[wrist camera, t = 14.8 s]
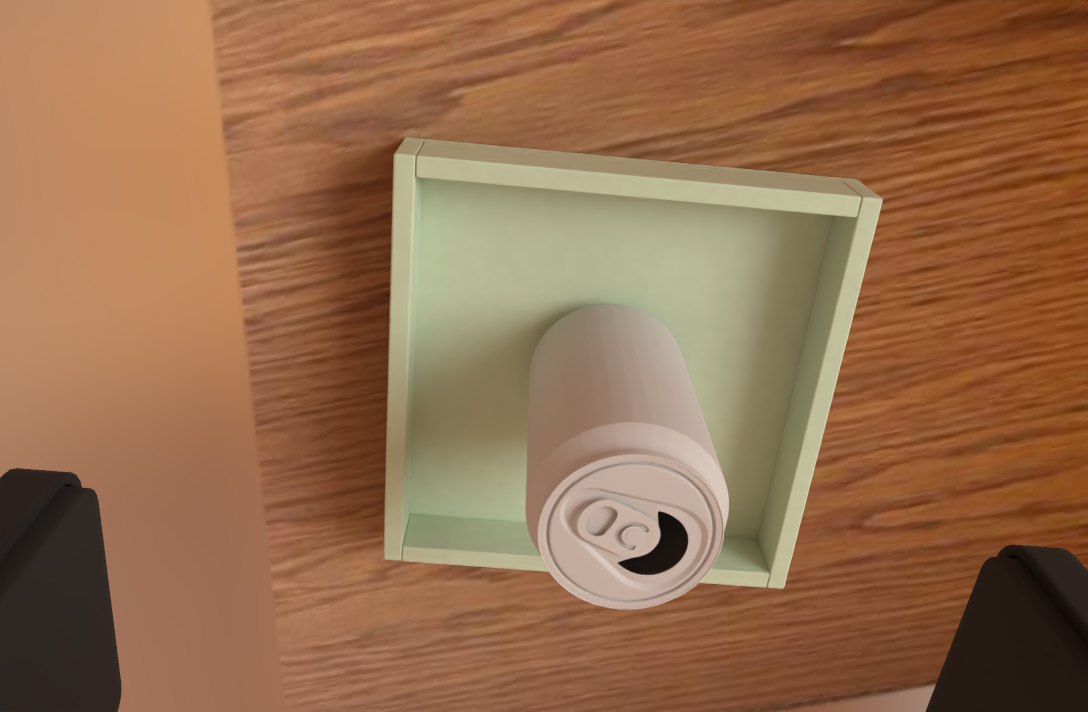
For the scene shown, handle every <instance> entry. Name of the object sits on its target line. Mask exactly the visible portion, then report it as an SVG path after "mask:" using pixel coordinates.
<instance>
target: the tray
mask: <svg viewBox="0 0 1088 712" xmlns="http://www.w3.org/2000/svg"><path fill="white" fill-rule="evenodd" d="M882 201H883V200H882V198H881V197H879V196H878V195H877V194H875V193H874V192H873V191H871V190H870V189H869V188H867V187H866V186H865V185H863V184H862V183H860V181H858V180H857V179H850V178H839V177H828V176H817V175H807V174H796V173H785V172H775V171H764V170H753V169H743V168H732V167H721V166H710V165H700V164H689V163H678V162H668V161H657V160H646V159H636V158H625V157H614V156H604V155H593V154H582V153H571V152H561V151H550V150H539V149H529V148H518V147H507V146H497V145H486V144H475V143H465V142H454V141H443V140H432V139H422V138H411V137H405V138H404V139H403V142H402V143H401V145H400V146H399V147H398V149H397V150H396V152H395V153H394V155H393V194H392V234H391V274H390V314H389V354H388V394H387V434H386V474H385V514H384V554H383V557H384V559H385V560H398V561H400V560H401V559H402V561H408V562H422V563H435V564H449V565H463V566H476V567H490V568H504V569H518V570H531V571H545V572H549V571H548V570H547V568H546V566H545V565H544V562H543V560H542V558H541V555H540V554H539V552H538V551H537V549H536V547H535V546H534V544H533V542H532V539H531V537H530V534H529V531H528V527H527V522H526V510H525V508H526V474H527V440H528V407H529V374H530V364H531V360H532V357H533V354H534V351H535V349H536V347H537V345H538V343H539V341H540V339H541V338H542V337H543V335H544V334H545V333H546V332H547V330H548V329H549V328H550V327H551V326H552V325H554V324H555V323H556V322H557V321H558V320H560V319H561V318H563V317H564V316H566V315H568V314H569V313H571V312H574V311H576V310H578V309H581V308H584V307H588V306H592V305H597V304H620V305H626V306H630V307H634V308H637V309H639V310H642V311H644V312H646V313H648V314H650V315H652V316H653V317H655V318H656V319H657V320H659V321H660V322H661V323H662V324H663V325H664V326H665V327H666V328H667V329H668V330H669V331H670V332H671V334H672V335H673V337H674V338H675V340H676V341H677V343H678V346H679V348H680V350H681V353H682V356H683V359H684V362H685V365H686V368H687V371H688V374H689V376H690V379H691V382H692V385H693V388H694V391H695V394H696V397H697V400H698V403H699V406H700V409H701V412H702V414H703V417H704V420H705V423H706V426H707V429H708V432H709V435H710V438H711V441H712V444H713V447H714V450H715V453H716V455H717V458H718V461H719V464H720V467H721V470H722V473H723V476H724V479H725V482H726V485H727V490H728V495H729V513H728V519H727V523H726V527H725V530H724V539H723V544H722V548H721V551H720V553H719V556H718V558H717V560H716V562H715V564H714V565H713V567H712V568H711V570H710V571H709V572H708V574H707V575H706V576H705V577H704V578H703V579H702V580H701V581H700V582H699V583H709V584H723V585H737V586H750V587H764V588H765V587H766V586H767V587H768V588H780V589H783V588H784V586H785V582H786V578H787V574H788V570H789V566H790V562H791V558H792V554H793V550H794V546H795V542H796V539H797V535H798V531H799V527H800V523H801V519H802V515H803V511H804V507H805V503H806V499H807V495H808V491H809V488H810V484H811V480H812V476H813V472H814V468H815V464H816V460H817V456H818V452H819V448H820V444H821V440H822V436H823V433H824V429H825V425H826V421H827V417H828V413H829V409H830V405H831V401H832V397H833V393H834V389H835V385H836V382H837V378H838V374H839V370H840V366H841V362H842V358H843V354H844V350H845V346H846V342H847V338H848V334H849V331H850V327H851V323H852V319H853V315H854V311H855V307H856V303H857V299H858V295H859V291H860V287H861V283H862V279H863V276H864V272H865V268H866V264H867V260H868V256H869V252H870V248H871V244H872V240H873V236H874V232H875V228H876V225H877V221H878V217H879V213H880V209H881V205H882Z"/></svg>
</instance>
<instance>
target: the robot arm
mask: <svg viewBox="0 0 1088 712" xmlns="http://www.w3.org/2000/svg"><path fill="white" fill-rule="evenodd" d="M120 699H121V679H120V670H119V662H118V654H117V646H116V638H115V630H114V622H113V614H112V606H111V598H110V590H109V582H108V574H107V566H106V558H105V550H104V542H103V534H102V526H101V518H100V510H99V502H98V498H97V494H96V493H95V491H94V490H92V489H90V488H82V486H81V482H80V480H79V478H78V477H77V475H75V474H73V473H71V472H57V471H45V470H31V469H19V468H16V469H11V470H9V471H8V472H6V473H5V474H4V475H3V476H2V477H1V478H0V712H118V708H119V704H120ZM926 712H1088V571H1087V569H1086V568H1085V567H1084V566H1083V565H1082V564H1081V563H1080V561H1079V560H1078V559H1077V558H1076V557H1075V556H1074V555H1073V554H1072V553H1070V552H1069V551H1068V550H1064V549H1061V548H1050V547H1037V546H1024V545H1009V546H1006V547H1004V548H1003V549H1002V550H1001V551H1000V552H999V554H998V556H997V557H991V558H989V559H988V560H986V561H985V562H984V564H983V566H982V568H981V570H980V573H979V575H978V578H977V581H976V583H975V586H974V588H973V591H972V594H971V596H970V599H969V601H968V604H967V606H966V609H965V612H964V614H963V617H962V619H961V622H960V624H959V627H958V630H957V632H956V635H955V637H954V640H953V642H952V645H951V648H950V650H949V653H948V655H947V658H946V660H945V663H944V666H943V668H942V671H941V673H940V676H939V678H938V681H937V684H936V686H935V689H934V691H933V694H932V697H931V699H930V702H929V704H928V707H927V710H926Z"/></svg>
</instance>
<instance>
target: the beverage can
mask: <svg viewBox="0 0 1088 712" xmlns="http://www.w3.org/2000/svg"><path fill="white" fill-rule="evenodd" d="M525 510H526V522H527V527H528V531H529V534H530V537H531V539H532V542H533V544H534V546H535V547H536V549H537V551H538V552H539V554H540V555H541V558H542V560H543V562H544V565H545V566H546V568H547V570H548V571H549V573H550V574H551V576H552V577H553V578H554V579H555V580H556V581H557V582H558V583H559V584H560V585H561V586H562V587H563V588H564V589H566V590H567V591H568V592H570V593H571V594H573V595H574V596H576V597H578V598H580V599H582V600H584V601H586V602H589V603H591V604H594V605H598V606H602V607H607V608H613V609H642V608H647V607H653V606H657V605H660V604H663V603H665V602H668V601H670V600H672V599H675V598H677V597H679V596H681V595H683V594H684V593H686V592H687V591H689V590H690V589H692V588H693V587H694V586H696V585H697V584H698V583H699V582H700V581H701V580H702V579H703V578H704V577H705V576H706V575H707V574H708V572H709V571H710V570H711V568H712V567H713V565H714V564H715V562H716V560H717V558H718V556H719V553H720V551H721V548H722V544H723V539H724V530H725V527H726V523H727V519H728V513H729V495H728V490H727V485H726V482H725V479H724V476H723V473H722V470H721V467H720V464H719V461H718V458H717V455H716V453H715V450H714V447H713V444H712V441H711V438H710V435H709V432H708V429H707V426H706V423H705V420H704V417H703V414H702V412H701V409H700V406H699V403H698V400H697V397H696V394H695V391H694V388H693V385H692V382H691V379H690V376H689V374H688V371H687V368H686V365H685V362H684V359H683V356H682V353H681V350H680V348H679V346H678V343H677V341H676V340H675V338H674V337H673V335H672V334H671V332H670V331H669V330H668V329H667V328H666V327H665V326H664V325H663V324H662V323H661V322H660V321H659V320H657V319H656V318H655V317H653V316H652V315H650V314H648V313H646V312H644V311H642V310H639V309H637V308H634V307H630V306H626V305H620V304H597V305H592V306H588V307H584V308H581V309H578V310H576V311H574V312H571V313H569V314H568V315H566V316H564V317H563V318H561V319H560V320H558V321H557V322H556V323H555V324H554V325H552V326H551V327H550V328H549V329H548V330H547V332H546V333H545V334H544V335H543V337H542V338H541V339H540V341H539V343H538V345H537V347H536V349H535V351H534V354H533V357H532V360H531V364H530V374H529V407H528V440H527V474H526V508H525Z"/></svg>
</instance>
